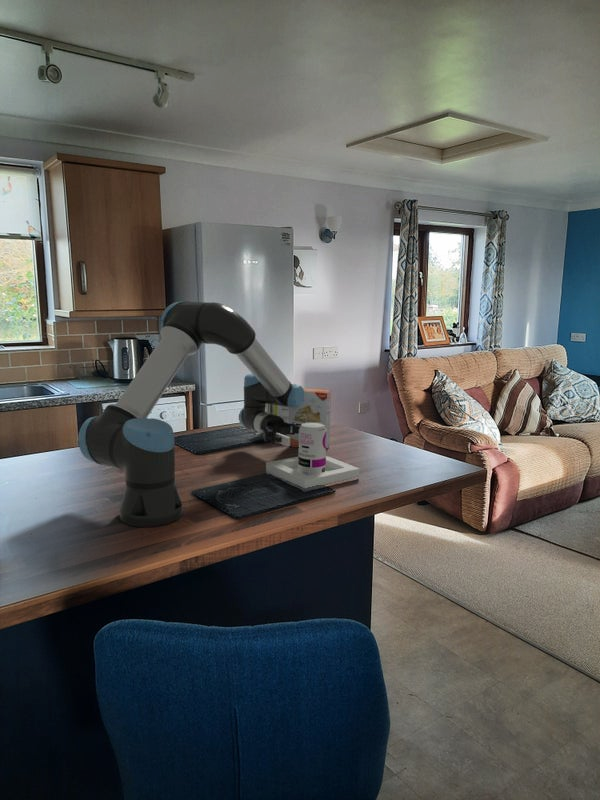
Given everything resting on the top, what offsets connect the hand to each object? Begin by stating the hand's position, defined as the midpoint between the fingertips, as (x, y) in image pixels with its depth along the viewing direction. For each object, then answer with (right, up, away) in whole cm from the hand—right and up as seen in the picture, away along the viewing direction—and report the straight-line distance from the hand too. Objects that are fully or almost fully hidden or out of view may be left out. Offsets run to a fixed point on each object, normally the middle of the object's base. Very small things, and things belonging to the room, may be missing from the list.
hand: (307, 439), depth 172 cm
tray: (+1, -11, -1) cm, 11 cm away
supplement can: (+1, -10, -1) cm, 11 cm away
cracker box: (+1, -5, +32) cm, 32 cm away
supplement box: (-7, -1, +51) cm, 52 cm away
